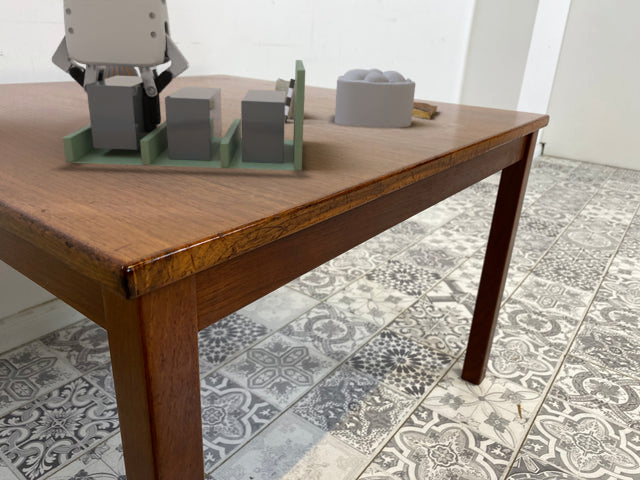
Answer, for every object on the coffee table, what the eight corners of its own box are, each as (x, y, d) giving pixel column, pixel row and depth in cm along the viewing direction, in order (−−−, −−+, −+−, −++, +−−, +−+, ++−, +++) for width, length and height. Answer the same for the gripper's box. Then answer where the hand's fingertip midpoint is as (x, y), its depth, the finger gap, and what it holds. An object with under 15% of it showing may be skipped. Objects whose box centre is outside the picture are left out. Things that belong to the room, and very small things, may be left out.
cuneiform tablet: (285, 124, 84) (258, 111, 94) (309, 128, 86) (280, 115, 96) (294, 79, 82) (266, 71, 92) (318, 85, 84) (288, 76, 94)
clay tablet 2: (241, 162, 56) (241, 100, 54) (248, 142, 66) (248, 89, 63) (283, 163, 57) (284, 102, 54) (284, 144, 66) (285, 91, 63)
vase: (127, 100, 100) (122, 51, 97) (149, 104, 96) (146, 54, 93) (94, 102, 95) (88, 51, 91) (117, 107, 91) (111, 54, 88)
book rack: (66, 171, 53) (51, 58, 49) (112, 141, 67) (103, 50, 63) (301, 179, 55) (305, 70, 51) (299, 148, 69) (302, 60, 64)
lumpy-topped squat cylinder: (336, 116, 94) (339, 66, 91) (408, 120, 94) (413, 70, 91) (333, 126, 85) (336, 70, 82) (413, 131, 84) (420, 75, 81)
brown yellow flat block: (429, 120, 95) (430, 110, 94) (388, 116, 97) (389, 106, 96) (438, 113, 104) (439, 104, 103) (400, 109, 106) (401, 100, 106)
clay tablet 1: (168, 159, 56) (164, 97, 53) (185, 140, 65) (183, 86, 63) (210, 160, 56) (209, 99, 54) (222, 141, 65) (220, 88, 63)
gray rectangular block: (93, 148, 55) (85, 84, 52) (121, 130, 64) (116, 75, 62) (137, 149, 55) (131, 86, 53) (158, 131, 64) (155, 77, 62)
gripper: (201, -43, 56) (207, 126, 63) (40, -52, 55) (64, 121, 62) (189, -52, 49) (197, 139, 56) (4, -63, 48) (36, 133, 55)
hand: (127, 128), depth 59 cm, fingers closed on gray rectangular block, 4 cm apart
